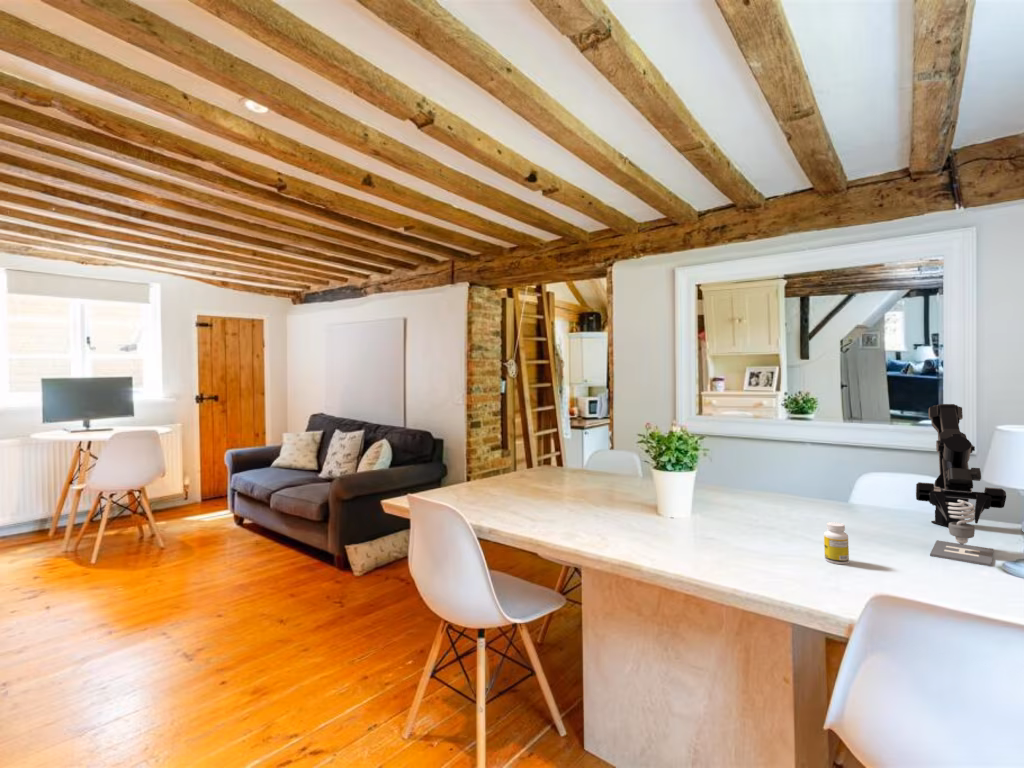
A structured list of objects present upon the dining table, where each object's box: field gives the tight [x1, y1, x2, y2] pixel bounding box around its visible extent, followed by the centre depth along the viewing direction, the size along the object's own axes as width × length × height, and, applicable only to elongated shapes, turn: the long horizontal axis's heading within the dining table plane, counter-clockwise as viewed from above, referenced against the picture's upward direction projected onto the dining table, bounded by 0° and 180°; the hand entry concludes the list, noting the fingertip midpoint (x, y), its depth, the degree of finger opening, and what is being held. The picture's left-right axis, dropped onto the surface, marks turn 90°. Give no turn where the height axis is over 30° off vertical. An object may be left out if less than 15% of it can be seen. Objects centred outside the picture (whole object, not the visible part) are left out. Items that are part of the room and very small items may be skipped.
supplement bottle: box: [823, 521, 850, 565], centre depth 136 cm, size 5×5×10 cm
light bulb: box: [947, 500, 976, 545], centre depth 140 cm, size 6×6×12 cm
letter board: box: [929, 539, 994, 567], centre depth 140 cm, size 16×12×1 cm
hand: (961, 521), depth 139 cm, fingers closed on light bulb, 5 cm apart
